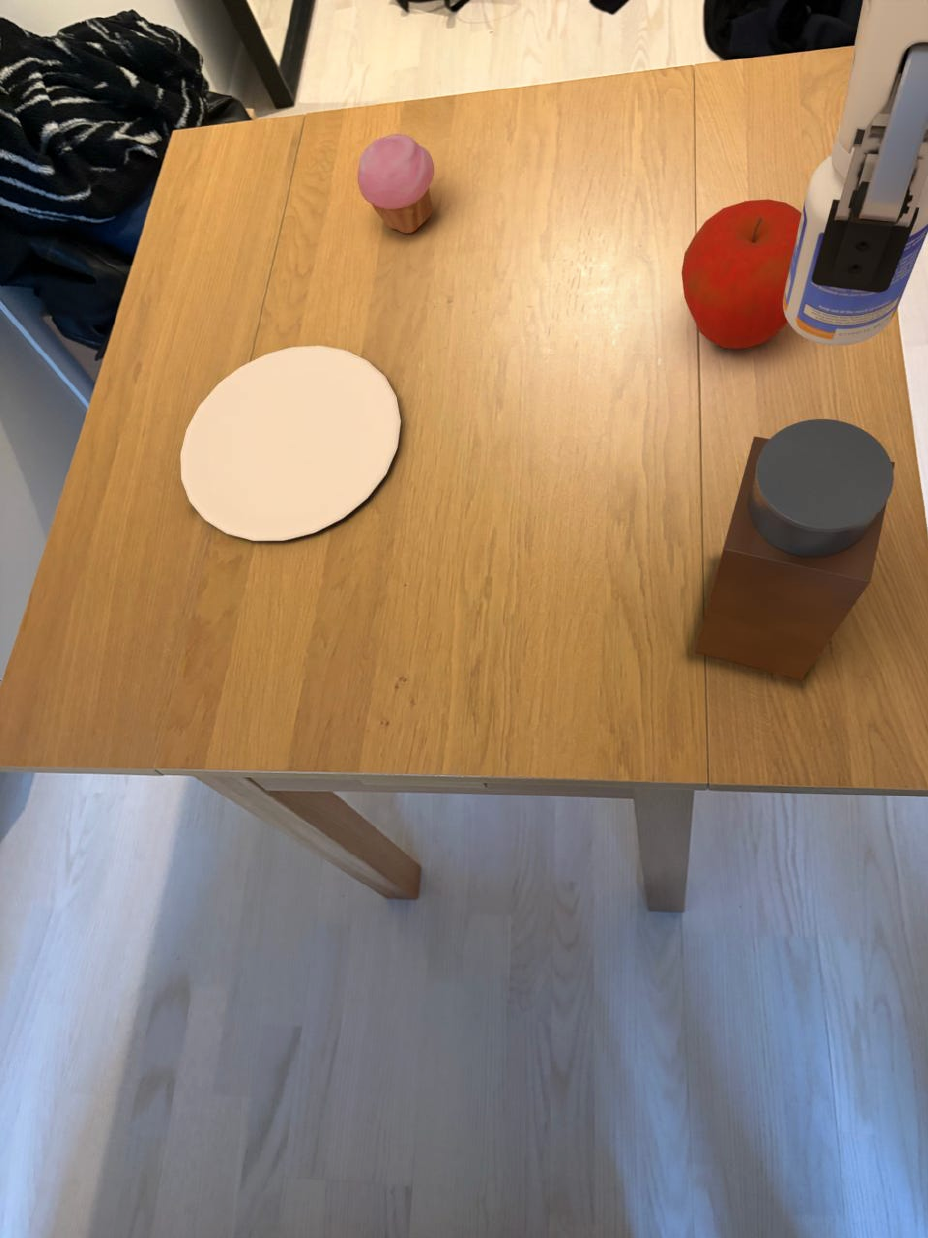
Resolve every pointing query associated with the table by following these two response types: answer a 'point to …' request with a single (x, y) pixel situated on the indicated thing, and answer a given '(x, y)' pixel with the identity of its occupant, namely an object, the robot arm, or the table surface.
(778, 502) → the tin
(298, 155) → the table surface
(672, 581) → the table surface
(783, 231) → the apple
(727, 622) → the stand
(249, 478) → the plate
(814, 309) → the pill bottle
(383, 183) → the cupcake
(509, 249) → the table surface
